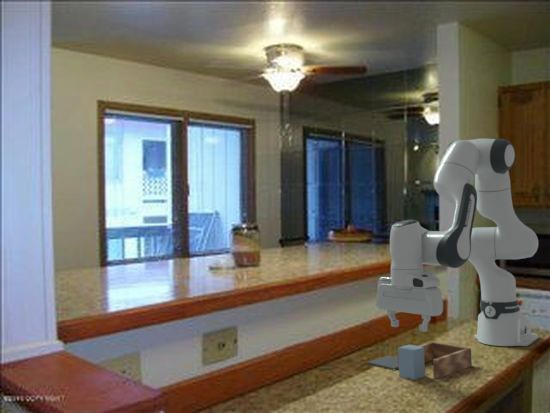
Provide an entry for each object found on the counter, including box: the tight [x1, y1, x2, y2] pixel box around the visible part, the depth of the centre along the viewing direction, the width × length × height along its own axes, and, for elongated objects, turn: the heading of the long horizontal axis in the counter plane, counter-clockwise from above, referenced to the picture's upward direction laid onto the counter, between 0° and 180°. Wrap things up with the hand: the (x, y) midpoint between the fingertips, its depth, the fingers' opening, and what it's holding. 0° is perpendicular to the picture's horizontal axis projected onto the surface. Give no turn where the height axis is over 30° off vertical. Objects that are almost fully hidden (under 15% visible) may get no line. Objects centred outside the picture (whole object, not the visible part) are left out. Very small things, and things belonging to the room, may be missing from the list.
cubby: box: [396, 341, 473, 380], centre depth 164 cm, size 17×13×5 cm
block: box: [397, 344, 426, 381], centre depth 157 cm, size 5×5×8 cm
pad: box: [366, 355, 398, 370], centre depth 170 cm, size 10×10×1 cm
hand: (408, 328), depth 157 cm, fingers open, 8 cm apart
